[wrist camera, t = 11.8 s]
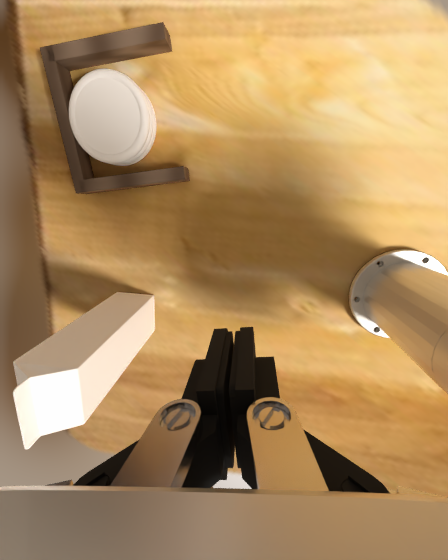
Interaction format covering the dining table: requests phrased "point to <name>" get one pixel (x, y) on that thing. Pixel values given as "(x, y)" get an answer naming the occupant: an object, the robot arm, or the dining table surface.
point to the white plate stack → (112, 117)
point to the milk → (80, 364)
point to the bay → (58, 74)
